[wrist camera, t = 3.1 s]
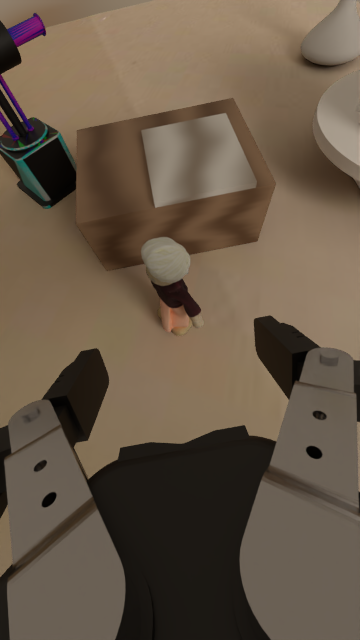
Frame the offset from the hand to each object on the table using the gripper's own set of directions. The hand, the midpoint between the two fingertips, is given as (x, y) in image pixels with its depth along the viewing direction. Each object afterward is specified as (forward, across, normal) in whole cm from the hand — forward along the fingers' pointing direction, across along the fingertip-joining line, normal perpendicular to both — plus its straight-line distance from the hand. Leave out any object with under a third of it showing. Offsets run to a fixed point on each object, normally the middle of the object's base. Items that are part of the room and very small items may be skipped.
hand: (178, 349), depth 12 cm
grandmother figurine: (+14, 0, +4) cm, 15 cm away
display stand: (+26, -2, -8) cm, 27 cm away
